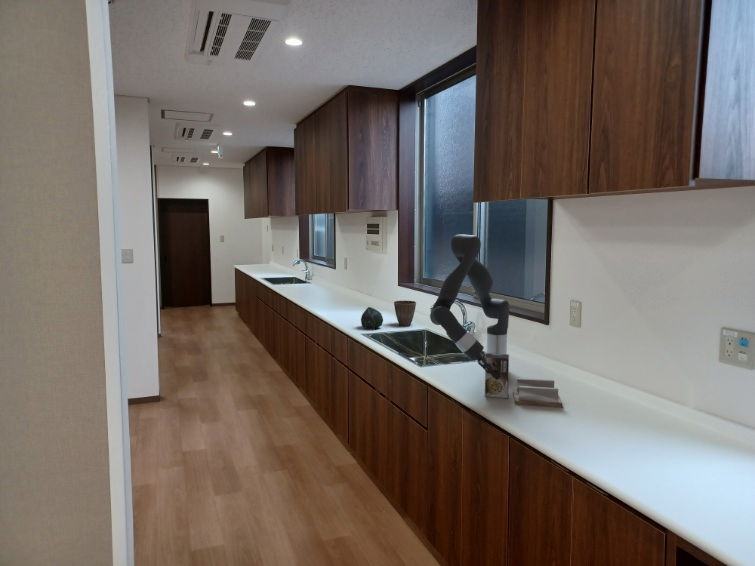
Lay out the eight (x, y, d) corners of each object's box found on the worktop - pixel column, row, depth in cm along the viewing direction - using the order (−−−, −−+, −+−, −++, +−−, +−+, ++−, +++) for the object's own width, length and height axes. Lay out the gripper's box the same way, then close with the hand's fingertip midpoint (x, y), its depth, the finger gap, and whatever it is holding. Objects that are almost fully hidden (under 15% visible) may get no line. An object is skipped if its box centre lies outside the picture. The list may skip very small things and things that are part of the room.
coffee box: (508, 393, 209) (509, 354, 207) (508, 398, 203) (509, 358, 201) (485, 391, 212) (486, 352, 210) (484, 396, 205) (485, 356, 204)
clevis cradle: (512, 392, 210) (513, 377, 209) (556, 395, 207) (557, 379, 206) (515, 404, 196) (515, 387, 196) (562, 407, 193) (563, 390, 192)
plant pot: (419, 326, 347) (419, 303, 345) (398, 328, 342) (398, 304, 341) (411, 322, 361) (411, 300, 359) (390, 324, 356) (390, 301, 355)
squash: (387, 318, 349) (372, 301, 348) (386, 323, 334) (370, 305, 333) (372, 331, 351) (357, 315, 350) (369, 337, 336) (354, 320, 336)
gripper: (475, 343, 199) (506, 374, 199) (476, 335, 214) (504, 364, 213) (461, 355, 201) (492, 387, 200) (462, 347, 215) (491, 376, 214)
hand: (498, 375), depth 206 cm, fingers closed on coffee box, 6 cm apart
